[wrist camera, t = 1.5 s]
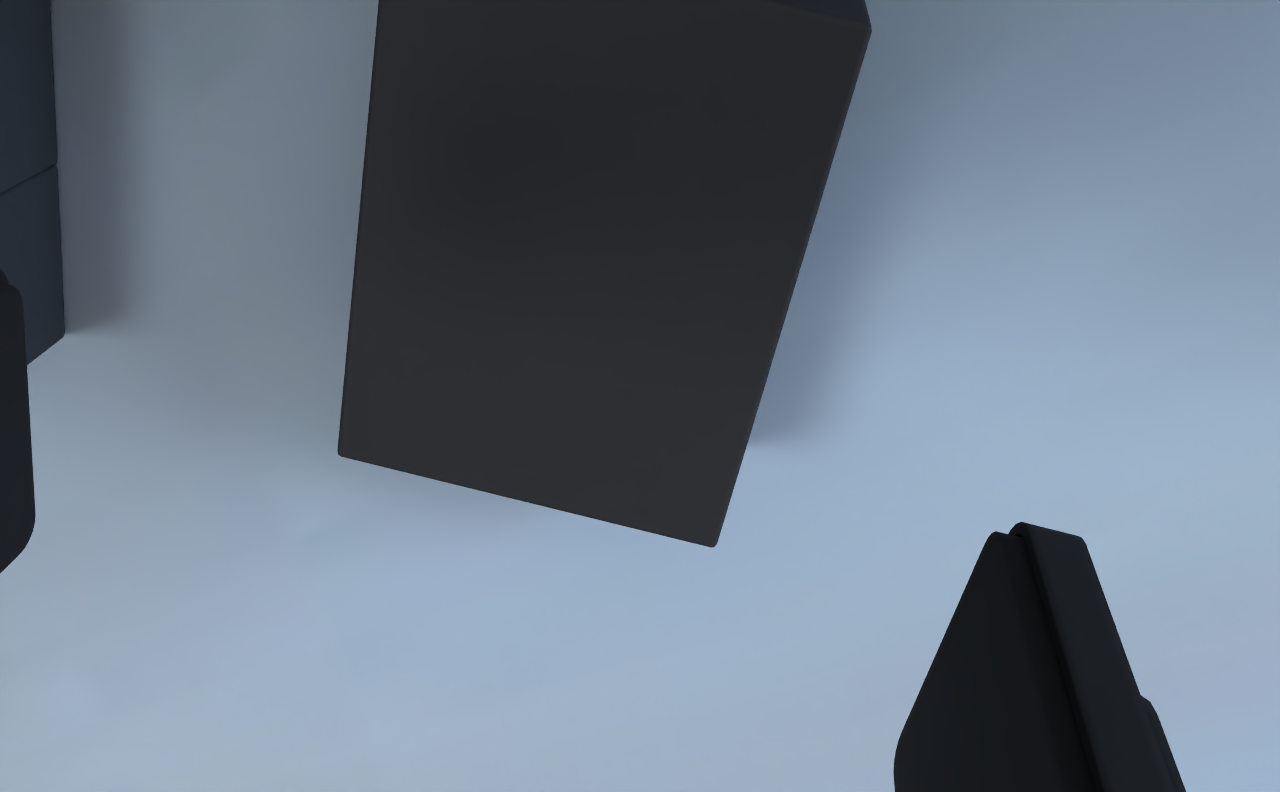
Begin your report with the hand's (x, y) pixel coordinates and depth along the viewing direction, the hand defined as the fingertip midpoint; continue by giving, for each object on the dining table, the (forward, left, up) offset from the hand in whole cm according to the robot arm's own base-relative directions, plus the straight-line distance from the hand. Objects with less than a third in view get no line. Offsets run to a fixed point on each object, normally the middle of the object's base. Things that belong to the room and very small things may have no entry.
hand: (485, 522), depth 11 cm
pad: (-2, 0, -9) cm, 9 cm away
